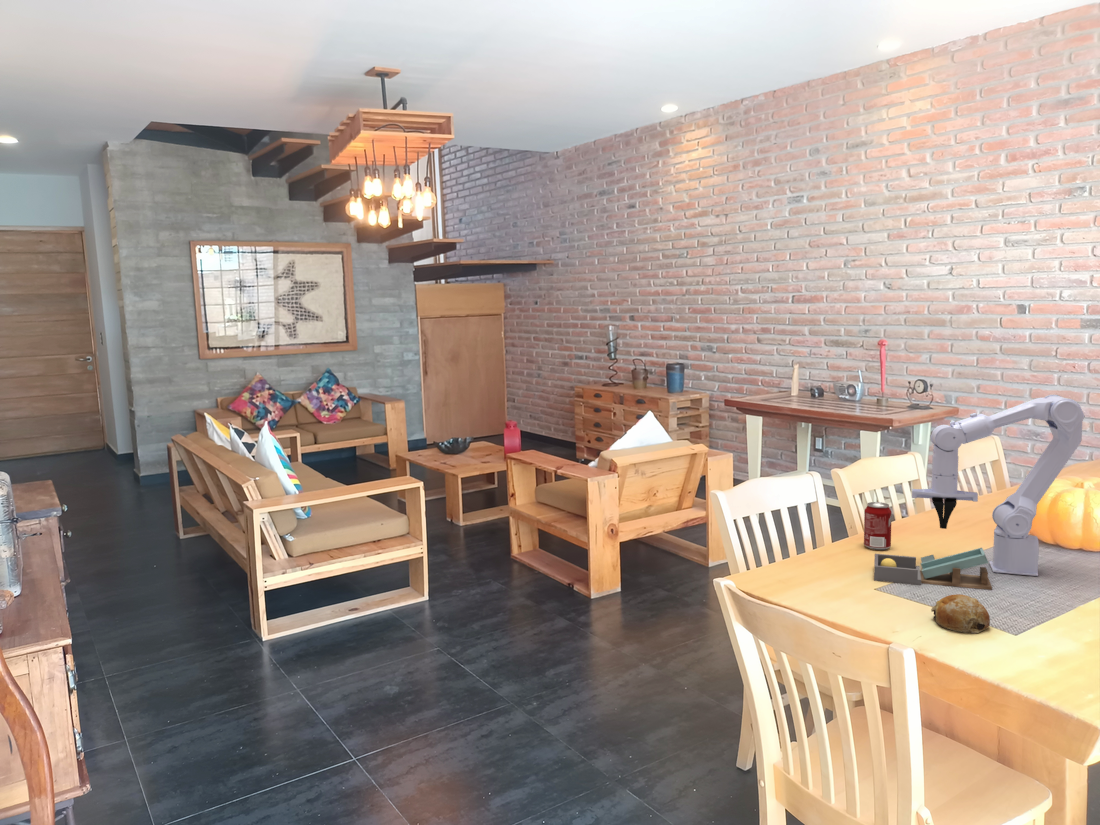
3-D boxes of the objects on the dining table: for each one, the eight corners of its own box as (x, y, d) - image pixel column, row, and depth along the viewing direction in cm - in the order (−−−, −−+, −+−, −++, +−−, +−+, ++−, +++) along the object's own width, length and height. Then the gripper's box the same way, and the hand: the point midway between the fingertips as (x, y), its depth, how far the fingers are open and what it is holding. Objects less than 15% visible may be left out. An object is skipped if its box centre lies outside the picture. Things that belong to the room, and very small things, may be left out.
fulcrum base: (987, 578, 186) (988, 561, 186) (991, 589, 179) (992, 572, 179) (919, 572, 192) (920, 556, 192) (921, 583, 185) (921, 566, 184)
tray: (919, 571, 193) (919, 557, 193) (921, 585, 184) (921, 570, 183) (874, 567, 197) (874, 553, 197) (874, 580, 188) (874, 566, 187)
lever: (981, 545, 193) (978, 537, 193) (988, 562, 180) (985, 554, 180) (921, 560, 199) (918, 553, 199) (924, 578, 185) (921, 570, 185)
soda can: (886, 552, 209) (888, 508, 207) (860, 548, 213) (861, 505, 211) (893, 546, 214) (894, 503, 212) (867, 542, 218) (868, 500, 216)
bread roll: (955, 651, 156) (971, 623, 152) (917, 615, 164) (932, 586, 160) (989, 642, 160) (1006, 613, 156) (950, 606, 168) (966, 578, 164)
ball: (883, 572, 193) (898, 568, 192) (883, 576, 190) (898, 573, 189) (878, 558, 193) (893, 554, 192) (878, 562, 190) (893, 559, 189)
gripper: (976, 472, 194) (974, 525, 196) (911, 469, 200) (910, 521, 202) (979, 477, 188) (977, 533, 190) (913, 474, 194) (911, 528, 195)
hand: (943, 527), depth 195 cm, fingers closed
